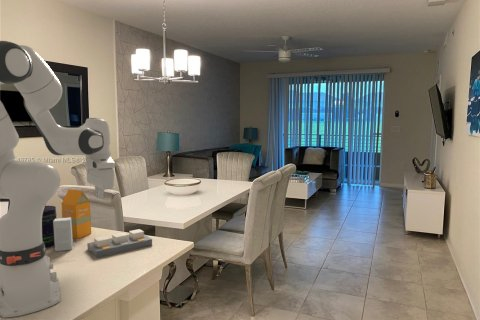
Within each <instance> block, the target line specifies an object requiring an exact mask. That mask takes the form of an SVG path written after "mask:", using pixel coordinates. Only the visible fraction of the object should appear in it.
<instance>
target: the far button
mask: <svg viewBox="0 0 480 320" xmlns="http://www.w3.org/2000/svg"><path fill="white" fill-rule="evenodd" d="M128 231H129V232H128V235H129V238H131V239H132V240H136V239H141V238H144V235H145V231H144V230H142V229H140V228H138V229H133V230H128Z"/></svg>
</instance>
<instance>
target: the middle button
mask: <svg viewBox="0 0 480 320" xmlns="http://www.w3.org/2000/svg"><path fill="white" fill-rule="evenodd" d="M111 235H112V236H111V238H112V241H113V242H114V243H115V244H118V243H122V242H127V235H128V234H126V233H125V232H124V231H123V232H117V233H114V234H113V233H112V234H111Z"/></svg>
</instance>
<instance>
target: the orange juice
mask: <svg viewBox="0 0 480 320" xmlns="http://www.w3.org/2000/svg"><path fill="white" fill-rule="evenodd" d="M60 204H61V218H69V217H71V223H72V238H73V239H80V238H83V237H86V236H89V235H92V216H91V215H92V214H91V201H90V200H89V199H88V197H87V196H86V194H85V192H84V191H83V190H77V189H68V190H67V191H66V194H65V195H64V198H63V200H62V202H61V203H60Z"/></svg>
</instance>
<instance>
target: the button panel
mask: <svg viewBox="0 0 480 320" xmlns="http://www.w3.org/2000/svg"><path fill="white" fill-rule="evenodd" d="M126 235H127V242H122V243H118V244H115V243H114V242H113V241H112V237H111V238H109V239H110V245H109V246H104V247H99V248H97V247H96V246H95V245H94V241H92V242H87V250H88V252H89V253H91V254H92V255H93V256H94V257H95V259H99V258H102V257H107V256H110V255H115V254H119V253H124V252H128V251H133V250H136V249H140V248H145V247H149V246H152V245H153V239H152V238H151V237H150V236H149V235H146V234H144V238H141V239H136V240H132V239H131V238H129V234H126Z"/></svg>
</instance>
